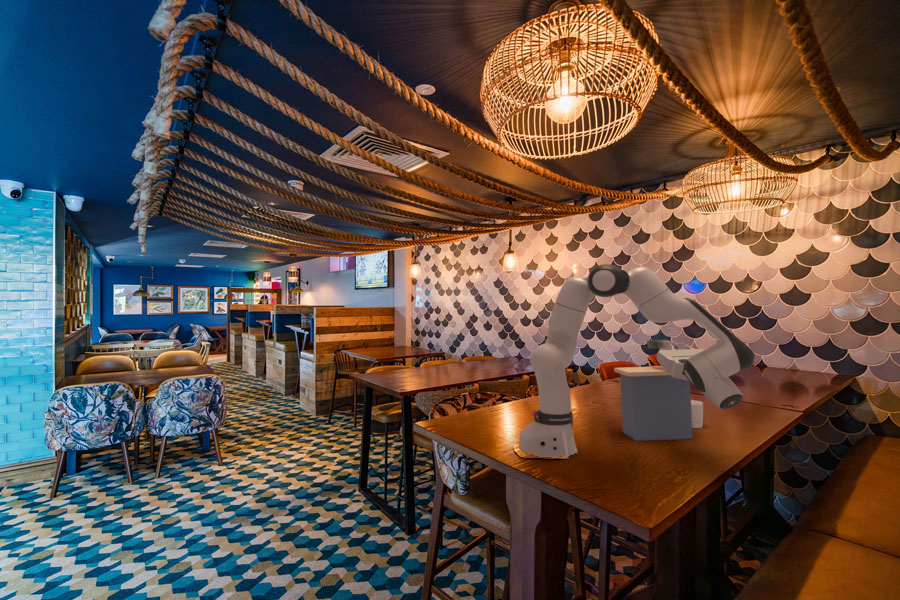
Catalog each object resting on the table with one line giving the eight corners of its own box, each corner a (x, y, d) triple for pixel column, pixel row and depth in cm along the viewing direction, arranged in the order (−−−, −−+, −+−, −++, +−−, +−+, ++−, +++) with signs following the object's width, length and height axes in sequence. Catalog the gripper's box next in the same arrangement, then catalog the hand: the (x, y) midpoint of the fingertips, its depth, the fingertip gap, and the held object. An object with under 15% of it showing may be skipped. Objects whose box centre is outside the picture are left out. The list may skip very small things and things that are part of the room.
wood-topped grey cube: (631, 441, 141) (628, 372, 142) (616, 431, 153) (614, 367, 154) (699, 439, 141) (696, 369, 142) (680, 429, 153) (676, 365, 154)
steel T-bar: (671, 352, 134) (671, 343, 134) (647, 348, 150) (647, 340, 150) (693, 351, 134) (693, 343, 135) (667, 347, 150) (667, 339, 151)
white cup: (704, 424, 159) (702, 400, 159) (704, 429, 152) (703, 405, 152) (682, 422, 163) (681, 399, 163) (681, 427, 156) (680, 403, 157)
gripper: (733, 360, 124) (707, 337, 136) (672, 362, 124) (651, 339, 136) (727, 375, 127) (702, 351, 139) (667, 377, 127) (647, 353, 139)
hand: (676, 345), depth 138 cm, fingers closed on steel T-bar, 3 cm apart
